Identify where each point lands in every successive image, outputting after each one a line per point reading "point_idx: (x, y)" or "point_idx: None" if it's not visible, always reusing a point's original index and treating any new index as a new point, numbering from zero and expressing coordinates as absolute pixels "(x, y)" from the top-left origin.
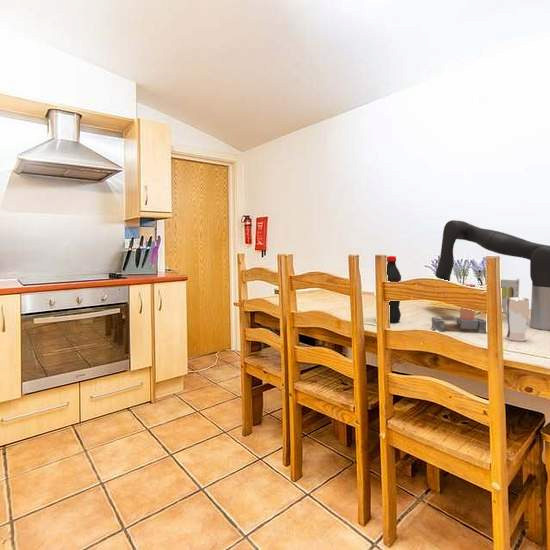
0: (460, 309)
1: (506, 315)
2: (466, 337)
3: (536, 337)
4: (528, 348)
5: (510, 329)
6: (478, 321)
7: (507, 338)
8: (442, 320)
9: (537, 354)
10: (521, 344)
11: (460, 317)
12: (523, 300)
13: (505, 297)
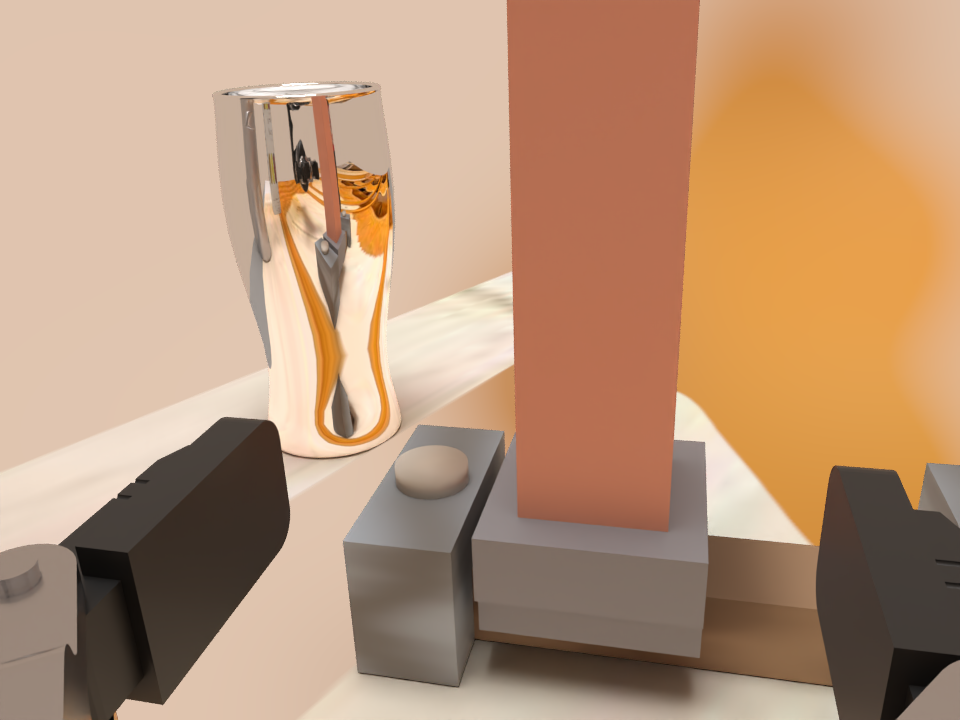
0: (675, 408)
1: (387, 248)
2: (706, 463)
3: (138, 445)
4: (432, 338)
5: (386, 345)
6: (495, 455)
7: (399, 423)
8: (951, 483)
9: (466, 303)
10: (408, 370)
11: (669, 514)
12: (320, 84)
13: None
